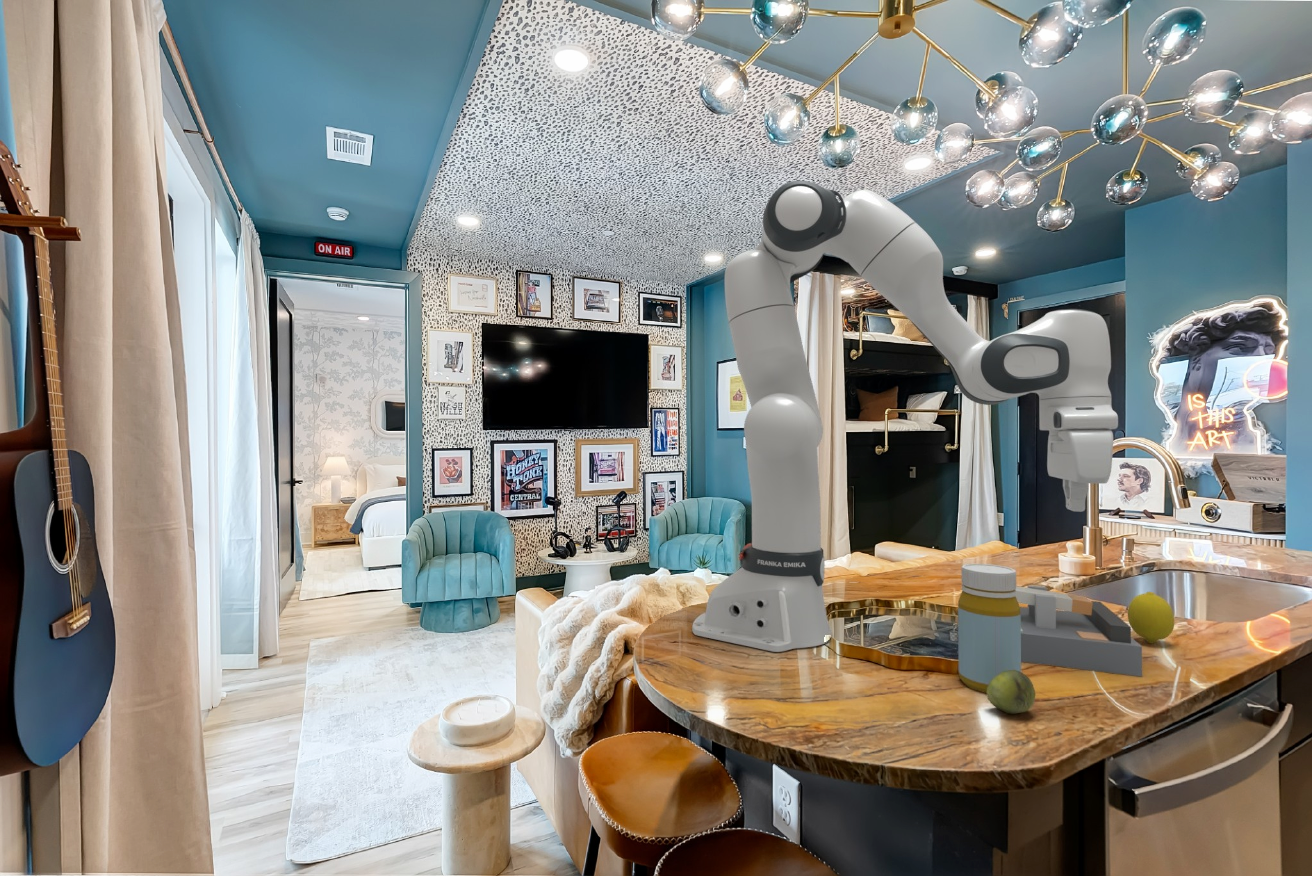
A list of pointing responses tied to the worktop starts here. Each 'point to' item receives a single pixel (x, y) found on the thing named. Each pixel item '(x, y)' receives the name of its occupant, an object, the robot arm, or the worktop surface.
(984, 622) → the bottle
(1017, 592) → the lever
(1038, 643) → the low grey base tray
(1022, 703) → the lime
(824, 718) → the worktop surface
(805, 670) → the worktop surface
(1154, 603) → the lemon
